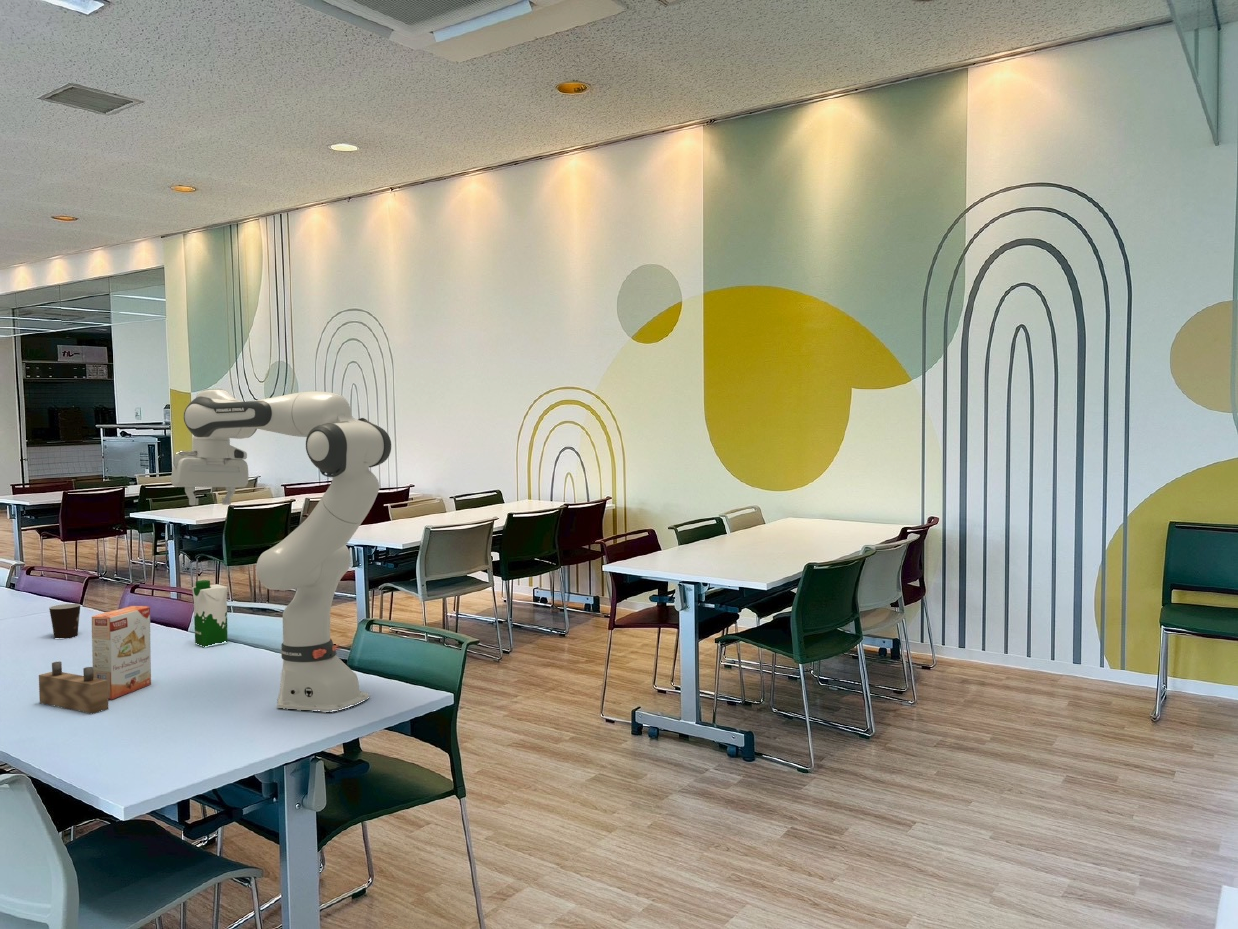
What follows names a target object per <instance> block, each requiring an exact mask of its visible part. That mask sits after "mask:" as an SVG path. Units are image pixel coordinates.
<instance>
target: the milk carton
mask: <svg viewBox="0 0 1238 929" xmlns="http://www.w3.org/2000/svg"><path fill="white" fill-rule="evenodd" d="M191 588H192V598H193V616H194V617H193V618H194V619H193V620H194V622H193V623H194V643H197V644H199V645H202V646H204V647H205V646H208V645H212V644H215V643H222V642H224V641H226V642H228V641H229V640H228V602H227V600H228V586H226V585H222V584H217V583H216V584H211V581H210V580H209V579H206V580H205V579H203V580H196V581H195V586H193V587H191ZM199 645H198V646H199ZM204 647H203V648H204Z"/></svg>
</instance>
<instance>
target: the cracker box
mask: <svg viewBox="0 0 1238 929" xmlns="http://www.w3.org/2000/svg"><path fill="white" fill-rule="evenodd" d="M91 646H92V647H91V649H92V650H91V651H92V655H91V656H92V667H93V678H98V679H104V680H107V681H108V700H114V699H116V698H119V697H122V696H124V695H126V694H130V693H133V692H135V691H137V690H139V689H140V690H141V689H143V688H146V687H149V686H151V685H152V664H151V663H152V662H151V659H152V658H151V652H152V651H151V607H150V606H147V605H146V606H145V605H131V606H127V607H126V606H125V607H122V608H120V609H115V610H111V611H107V612H104V613H100V614H95V615H93V616H91Z"/></svg>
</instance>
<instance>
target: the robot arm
mask: <svg viewBox="0 0 1238 929" xmlns="http://www.w3.org/2000/svg"><path fill="white" fill-rule="evenodd" d="M183 422H184V424H185V426H186V428H187V429H188V431H189V432H190V433H191V434H192V435H193V438H192V450H188V451H187V450H179V451H178V452H175V454H174V455H173V457H172V459H173V460H172V463H173V465H172V469H171V477H170V482H171V485H172V486H173V488H177V487H178V488H184V492H185V494H186V496H187V499H188V505H189V506H198V505H199V497H197V498H196V496H195V494H194V492H195V491H196V488H225V492H227V493H226V494H225V497H222V498H221V501H222V502H221V504H222V505H223V506H224V505H225V506H226V505H227V506H228V505H229V506H230V505H231V504H232V498H233V496H234V495H235V493H236V488H247V486H248V484H249V465H248V463H247V461H246V460H247V458H248V453H247V451H245V450H244V449H241V448H238V447H235V446H233V445H231V443H230V442H231V439H237V440H238V439H239V440H242V439H248V438H251V437H252V436H253V435H254V434H255V433H256V432H257V430H261V431H265V432H272V433H277V434H281V435H286V436H290V437H300V438H301V437H302V438H306V439H305V451H306V455H307V456H308V458H309V460H310V462H311V463H312V464H313V465H314V466H315V467H316V468H317V469H318V470H319V471H320V474H321V475H322V476H324V477H327V478H331V483H330V485H329V486H328V487H327V490H326V491H325V492H324V493H323V495H322V496H321V498H320V499H319V501H318V503H317V504H316V506H315V507H314V508H313V509H312V510H311V512H310V513H309V515H308V516H307V518H306V519H305V520H304V521H302V523H301V524H299V525H298V526H297V527H296V528H294V529H293V531H291V532H290V533H289V534H288V535H287V536H286V537H285V538H284V539H282V540H281V541H280V542H279V543H277V544H275V545H273V546H272V547H270V548H269V549H267V550H265V551H263V552H262V553H261V554H260V556H259V557H258V558H257V561H256V566H255V571H256V576H257V579H258V581H259V582H260V583H261V584H260V585H262V586H263V587H265V589H267V590H271V591H272V590H273V591H290V590H296V592H295V594H294V597H293V599H291V601H290V602H289V604H288V605H287V606H285V608H284V610H283V612H282V643H281V647H280V648H281V649H280V652H281V653H280V654H281V657H280V658H281V659H282V662H283V663H282V669H281V673H280V674H281V675H280V687H279V693H278V697H277V699H276V700H277V701H278V702H277V701H276V702H277V706H276V709H278V708H283V709H282V710H288V709H297V710H296V711H301V710H317V711H318V710H320V711H332V710H339V709H342V708H345V707H348V706H350V705H355V704H357V703H359V702H361V701H363V700H366V699H367V698H368V697H369V698H370V694H369V693H368V692H364V691H361V690H360V685H359V678H358V676H357V674H356V672H354V671H353V669H351V668H350V667H349V666H348V665H346V663H344V662H343V661H342V659H341V658H340V657H338V656H337V650H340V644H337V645H334V642H333V639H332V638H331V611H332V610H331V609H332V604H333V599H334V596H335V593H336V591H337V588H338V585H339V584H340V582H341V579H342V578H343V577H344V575H345V574H347V572H348V571H349V569H350V567H351V561H352V560H351V559H352V558H351V552H350V550H349V548H348V546H347V545H346V544H348V543H349V541H350V540H351V539H352V538H353V536H354V534H355V533H356V532H357V530H358V529H359V527H360V526H361V524H362V523H363V521H364V520H365V519H366V517H367V516H368V514H369V513H370V510H371V509H372V507H373V505H374V503H375V501H376V498H377V496H378V494H379V492H380V482H379V480H378V478H377V476H376V475H375V474H374V473H373V472H372V471H370V468H373V467H377V466H380V465H382V464H383V463H386V461H387V460H388V458H389V457H390V454H391V452H392V441H391V440H392V439H391V438H390V435H389V433H388V432H387V431H386V430H385V429H384V428H382V427H381V426H379V425H377V424H374V423H373V422H371V421H370V420H368V419H366V418H364V417H360V418H358V419H356V418H354V417H353V416H352V410H351V406H350V404H349V402H348V400H347V399H346V398H345V397H344V396H342V394H339V393H335V392H331V391H330V392H329V391H322V390H321V391H320V390H319V391H318V390H315V391H314V390H313V391H302V392H295V393H289V394H284V395H279V396H273V397H269V398H262V399H258V400H257V399H256V400H248V401H247V400H246V401H242V400H239V399H237V398H235V397H234V396H232V395H231V394H230V393H229V392H228V391H226V390H225V389H222V388H211V389H210V388H208V389H203V390H201V391H199V392H198V393H197V394H196V397H195V398H194V399H193V400H191V401H190V402H189V403H188V405H187V406H186V408H185V409H184V412H183ZM285 708H287V709H285Z"/></svg>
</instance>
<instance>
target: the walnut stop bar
mask: <svg viewBox="0 0 1238 929" xmlns="http://www.w3.org/2000/svg"><path fill="white" fill-rule="evenodd" d="M62 669H63V667H62V661H54V662H51V671H50V672H45V673H41V674H39V675H38V692H39V693H38V694H39V696H38V697H39V704H41V703H44V704H43V705H46V704H48V705H47V706H51V705H55V706H54V707H56V706H59V707H58V708H61V707H62V709H66V708H67V709H66V710H71V709H72V710H71V711H75V710H80V711H84V712H83V713H85V712H87V713H86V714H90V713H92V714H91V715H94V714H96V712H97V713H100V712H102V711H101V710H104V711H106V710H109V699H108V681H107V680H104V679H98V678H93V666H86V667H83V668H82V670H83V675H79V674H75V673H69V672H63V670H62ZM80 711H79V712H80ZM99 711H100V712H99ZM93 713H94V714H93Z"/></svg>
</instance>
